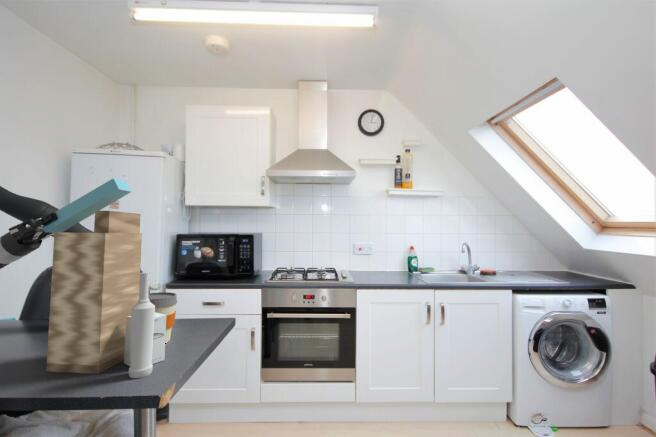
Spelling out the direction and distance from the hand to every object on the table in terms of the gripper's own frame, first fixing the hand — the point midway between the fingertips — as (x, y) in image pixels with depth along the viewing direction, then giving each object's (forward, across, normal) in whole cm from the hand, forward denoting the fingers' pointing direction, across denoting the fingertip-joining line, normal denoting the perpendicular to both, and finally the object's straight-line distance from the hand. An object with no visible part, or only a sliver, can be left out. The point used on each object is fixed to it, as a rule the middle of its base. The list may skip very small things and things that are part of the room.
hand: (64, 216), depth 89 cm
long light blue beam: (+7, 0, +1) cm, 7 cm away
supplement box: (+1, +1, +47) cm, 47 cm away
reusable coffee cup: (-5, +16, +43) cm, 46 cm away
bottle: (+5, -6, +49) cm, 49 cm away
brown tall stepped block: (-10, 0, +40) cm, 41 cm away
